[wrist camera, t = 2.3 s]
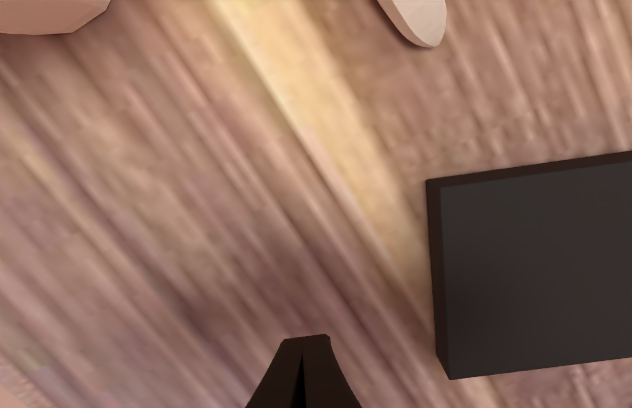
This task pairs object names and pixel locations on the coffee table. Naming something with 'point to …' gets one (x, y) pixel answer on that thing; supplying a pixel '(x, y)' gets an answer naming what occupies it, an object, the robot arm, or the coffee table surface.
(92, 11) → the foam cup
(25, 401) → the coffee table surface
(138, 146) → the coffee table surface
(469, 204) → the graphite pad
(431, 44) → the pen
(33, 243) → the coffee table surface
